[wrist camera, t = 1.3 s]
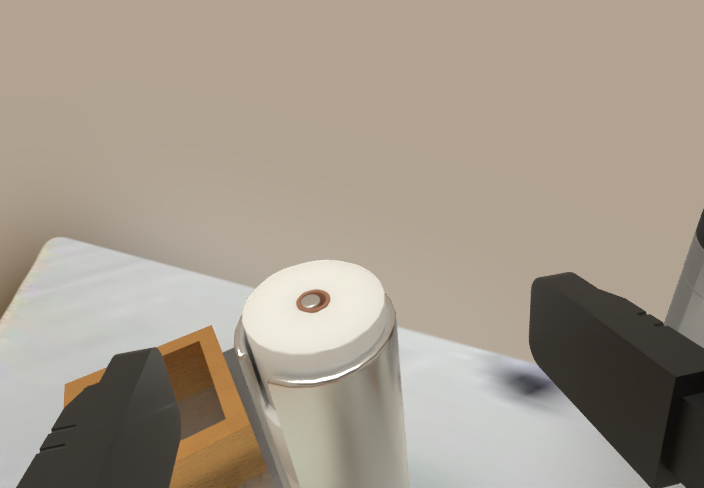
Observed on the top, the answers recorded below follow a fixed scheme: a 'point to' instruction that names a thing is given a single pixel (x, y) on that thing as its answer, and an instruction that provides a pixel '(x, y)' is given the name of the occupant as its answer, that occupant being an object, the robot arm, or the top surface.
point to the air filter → (326, 376)
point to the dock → (210, 417)
